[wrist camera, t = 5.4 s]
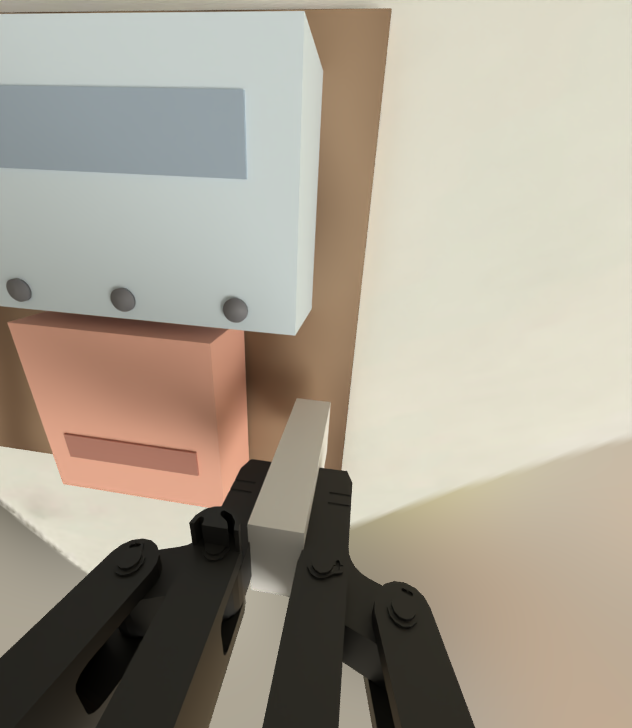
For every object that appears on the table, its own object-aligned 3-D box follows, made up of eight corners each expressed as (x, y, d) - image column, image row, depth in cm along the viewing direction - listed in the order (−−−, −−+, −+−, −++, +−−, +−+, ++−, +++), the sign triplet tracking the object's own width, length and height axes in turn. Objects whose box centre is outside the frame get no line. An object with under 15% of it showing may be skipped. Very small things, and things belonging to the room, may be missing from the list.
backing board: (-26, 432, 22) (-39, 440, 21) (-211, 26, 13) (-244, 15, 13) (339, 486, 19) (338, 497, 18) (390, 22, 11) (391, 8, 10)
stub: (113, 440, 19) (61, 485, 16) (79, 301, 15) (4, 323, 12) (249, 459, 18) (223, 512, 15) (243, 316, 15) (208, 344, 11)
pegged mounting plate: (-87, 272, 16) (-202, 287, 13) (-179, 65, 13) (-365, 14, 10) (311, 308, 14) (294, 337, 11) (323, 70, 11) (302, 7, 8)
